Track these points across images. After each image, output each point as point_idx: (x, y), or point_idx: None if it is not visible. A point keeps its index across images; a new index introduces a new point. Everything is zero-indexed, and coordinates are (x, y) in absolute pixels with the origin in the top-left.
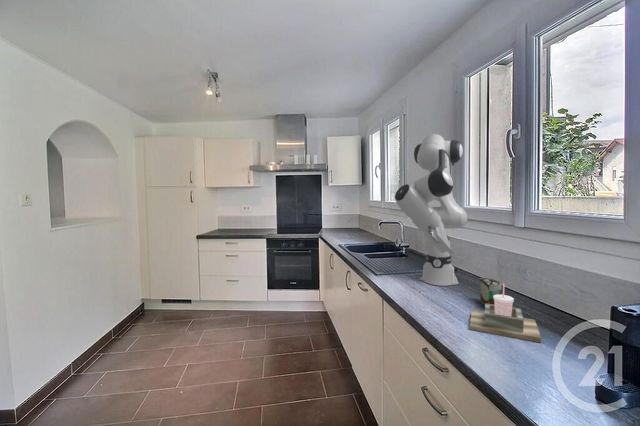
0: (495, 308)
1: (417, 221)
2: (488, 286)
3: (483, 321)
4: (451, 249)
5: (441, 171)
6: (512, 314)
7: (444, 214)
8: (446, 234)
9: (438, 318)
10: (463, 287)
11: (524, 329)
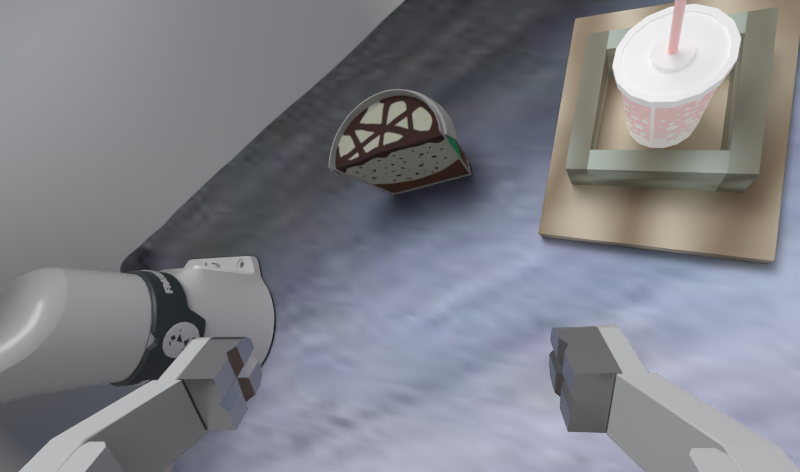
0: (681, 119)
1: None
2: (427, 138)
3: (680, 194)
4: (674, 386)
5: None
6: (606, 75)
7: None
8: (162, 399)
9: None
10: (279, 242)
11: None
